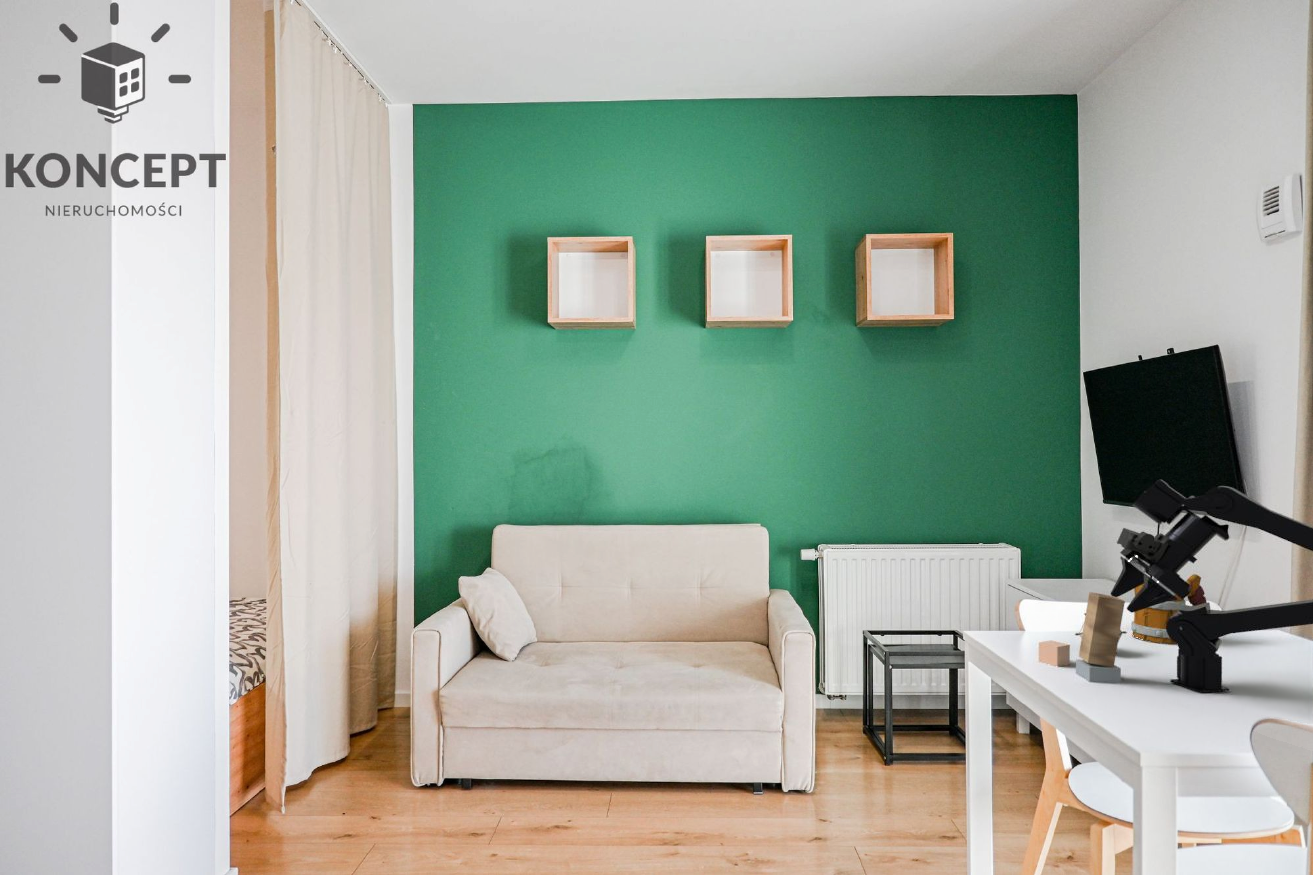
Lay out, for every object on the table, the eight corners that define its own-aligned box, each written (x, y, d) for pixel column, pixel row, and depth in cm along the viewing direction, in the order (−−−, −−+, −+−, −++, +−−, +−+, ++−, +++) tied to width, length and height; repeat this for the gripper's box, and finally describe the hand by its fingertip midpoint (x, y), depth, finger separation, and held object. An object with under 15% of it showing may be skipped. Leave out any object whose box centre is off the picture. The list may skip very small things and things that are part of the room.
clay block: (1069, 664, 157) (1069, 644, 157) (1057, 667, 155) (1057, 646, 155) (1051, 660, 160) (1051, 640, 161) (1038, 662, 158) (1038, 642, 159)
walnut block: (1103, 661, 149) (1114, 596, 149) (1113, 667, 145) (1124, 600, 145) (1078, 656, 150) (1089, 591, 150) (1087, 662, 146) (1098, 596, 145)
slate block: (1105, 676, 150) (1106, 660, 150) (1120, 684, 144) (1120, 668, 144) (1075, 675, 150) (1076, 659, 150) (1089, 683, 145) (1089, 667, 145)
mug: (1119, 632, 186) (1120, 569, 186) (1191, 634, 185) (1191, 570, 186) (1146, 644, 175) (1146, 576, 175) (1222, 646, 174) (1222, 578, 175)
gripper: (1128, 504, 154) (1071, 562, 158) (1165, 523, 136) (1099, 589, 140) (1176, 541, 153) (1117, 599, 156) (1220, 565, 135) (1152, 630, 138)
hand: (1120, 603), depth 148 cm, fingers open, 9 cm apart
